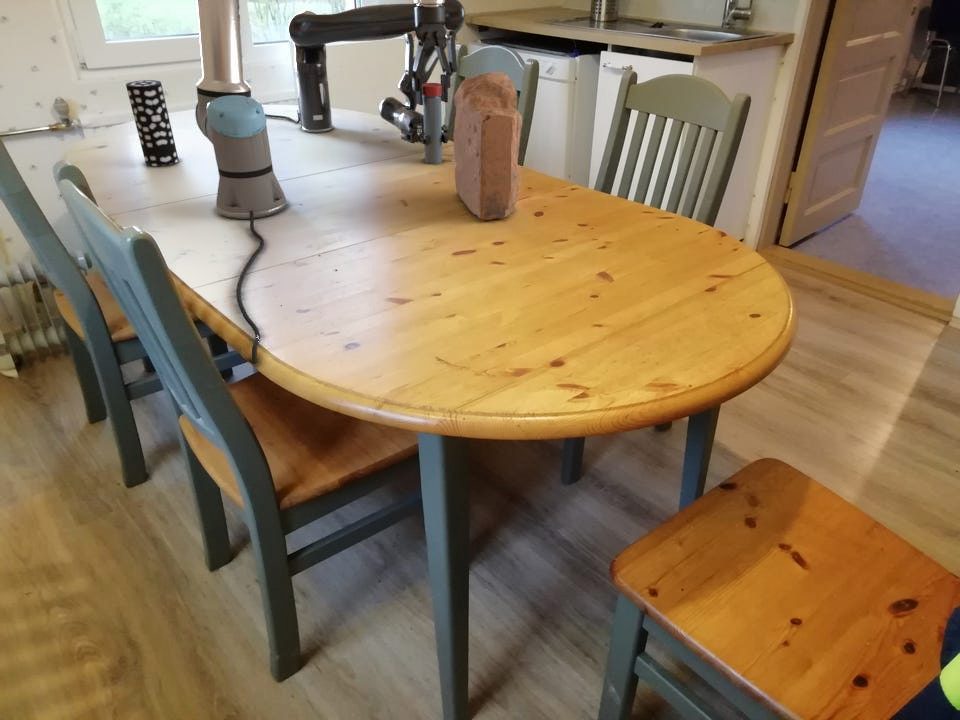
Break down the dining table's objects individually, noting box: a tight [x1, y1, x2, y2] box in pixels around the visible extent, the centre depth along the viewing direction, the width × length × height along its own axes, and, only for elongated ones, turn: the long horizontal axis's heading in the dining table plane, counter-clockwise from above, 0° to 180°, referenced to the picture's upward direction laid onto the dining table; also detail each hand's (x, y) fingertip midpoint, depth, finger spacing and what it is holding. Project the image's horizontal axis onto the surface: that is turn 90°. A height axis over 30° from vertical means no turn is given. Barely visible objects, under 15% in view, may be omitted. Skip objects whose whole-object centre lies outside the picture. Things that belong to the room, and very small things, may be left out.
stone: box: [453, 71, 523, 221], centre depth 154 cm, size 22×11×28 cm, turn 18°
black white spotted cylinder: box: [125, 79, 179, 167], centre depth 181 cm, size 8×8×20 cm
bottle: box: [422, 95, 443, 165], centre depth 185 cm, size 5×5×19 cm
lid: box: [422, 82, 442, 97], centre depth 180 cm, size 5×5×2 cm
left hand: (432, 102), depth 181 cm, fingers open, 7 cm apart
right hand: (436, 140), depth 184 cm, fingers closed on bottle, 5 cm apart
